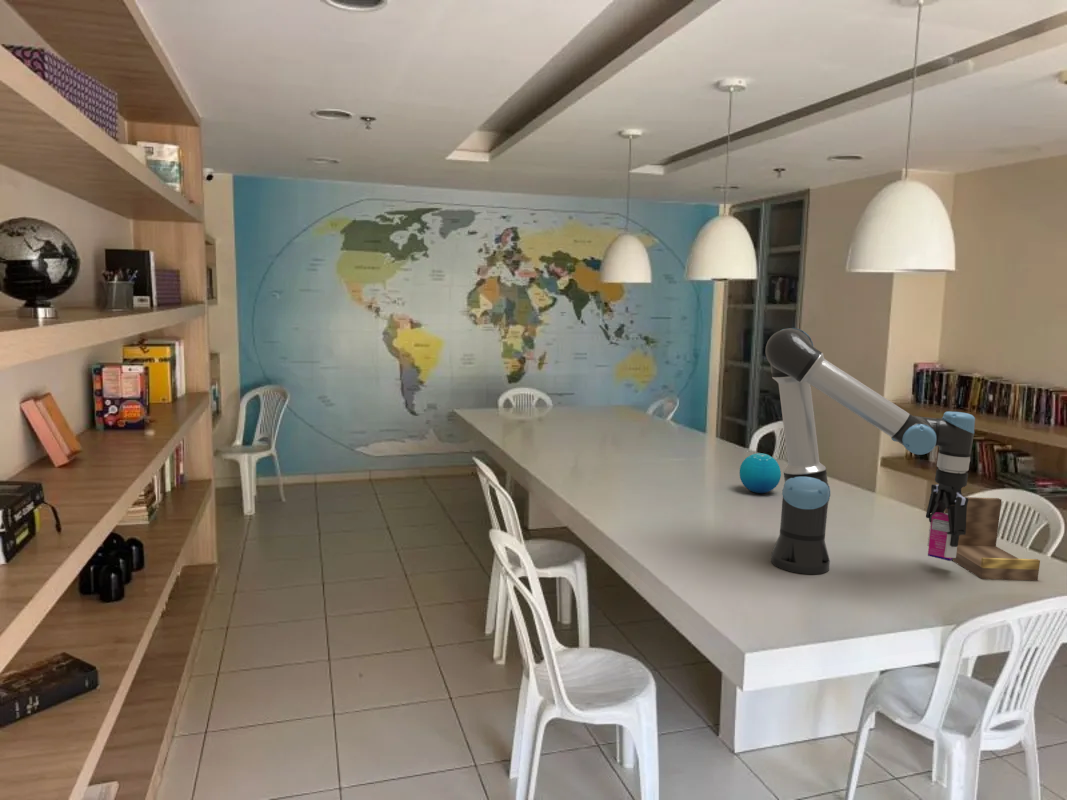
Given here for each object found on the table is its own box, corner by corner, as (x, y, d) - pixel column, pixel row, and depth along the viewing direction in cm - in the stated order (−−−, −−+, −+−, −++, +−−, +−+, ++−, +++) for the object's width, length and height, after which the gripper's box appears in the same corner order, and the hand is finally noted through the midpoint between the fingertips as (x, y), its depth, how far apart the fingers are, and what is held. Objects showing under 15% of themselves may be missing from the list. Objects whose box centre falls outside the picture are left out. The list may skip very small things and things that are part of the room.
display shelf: (981, 578, 198) (988, 517, 195) (940, 553, 217) (946, 496, 215) (1037, 580, 198) (1045, 518, 195) (991, 554, 217) (998, 498, 215)
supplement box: (931, 550, 206) (936, 510, 204) (955, 556, 202) (960, 515, 201) (926, 555, 202) (931, 515, 200) (950, 561, 198) (956, 520, 196)
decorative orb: (774, 488, 287) (777, 450, 285) (783, 498, 272) (786, 458, 270) (734, 486, 289) (737, 448, 287) (741, 496, 274) (744, 456, 272)
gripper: (989, 480, 188) (977, 566, 192) (945, 461, 209) (934, 539, 212) (960, 479, 188) (948, 564, 192) (918, 460, 209) (908, 538, 212)
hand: (941, 551), depth 202 cm, fingers closed on supplement box, 8 cm apart
